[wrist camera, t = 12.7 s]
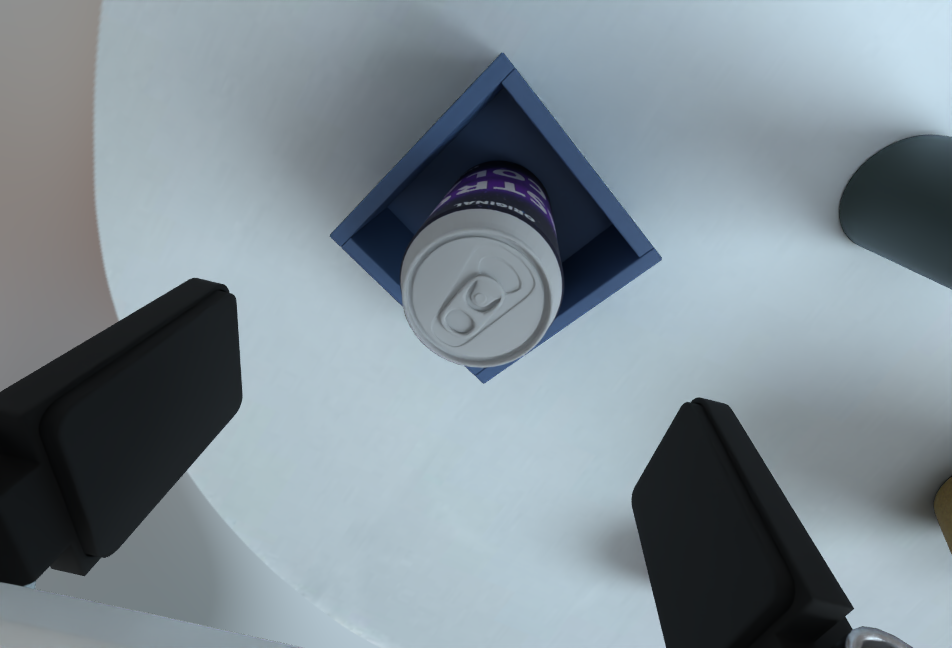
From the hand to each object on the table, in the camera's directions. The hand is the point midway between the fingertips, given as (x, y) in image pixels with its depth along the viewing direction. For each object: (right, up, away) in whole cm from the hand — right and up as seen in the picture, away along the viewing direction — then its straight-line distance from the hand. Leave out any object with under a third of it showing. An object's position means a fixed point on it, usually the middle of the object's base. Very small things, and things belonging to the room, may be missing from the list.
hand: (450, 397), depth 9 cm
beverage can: (+2, +8, +16) cm, 18 cm away
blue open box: (+2, +8, +16) cm, 18 cm away
